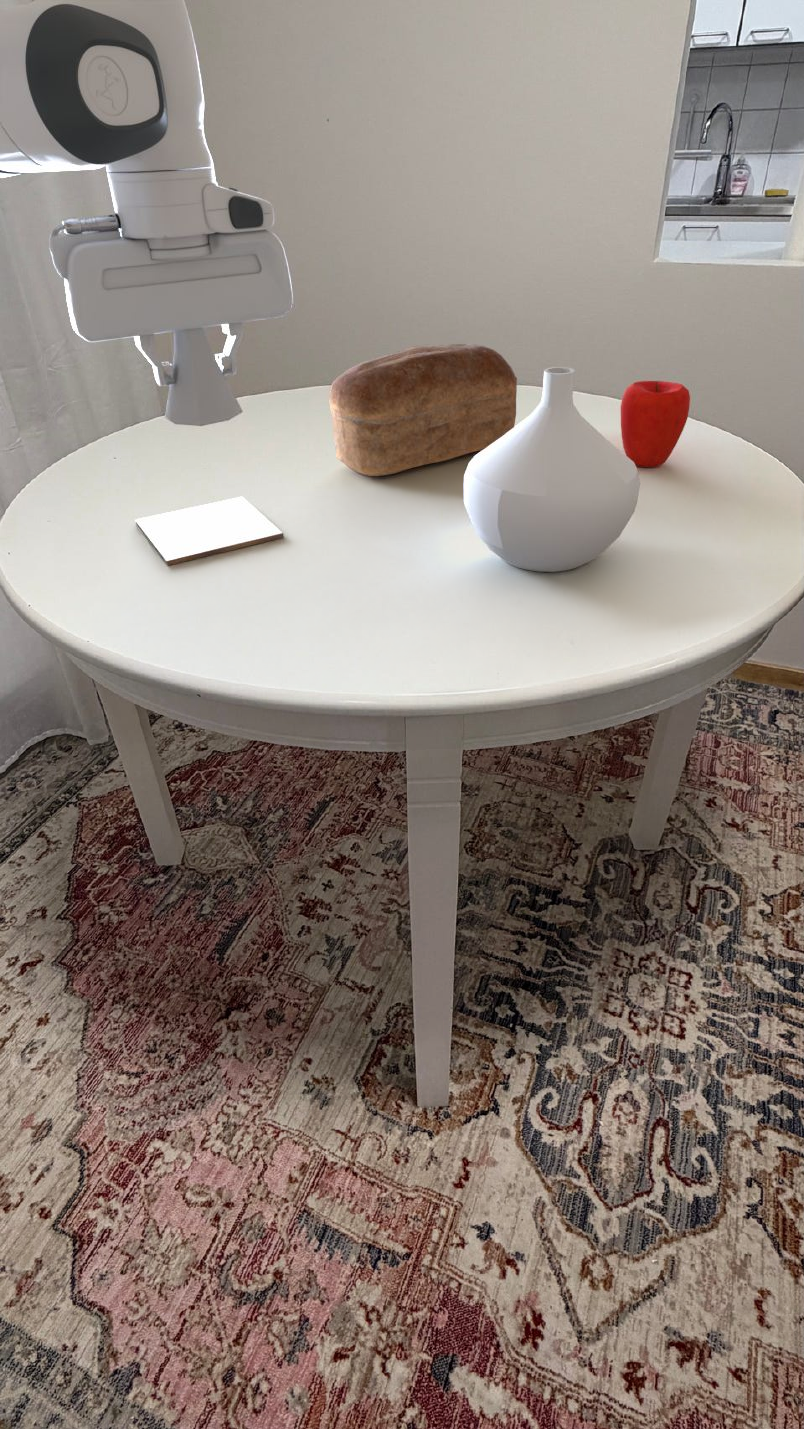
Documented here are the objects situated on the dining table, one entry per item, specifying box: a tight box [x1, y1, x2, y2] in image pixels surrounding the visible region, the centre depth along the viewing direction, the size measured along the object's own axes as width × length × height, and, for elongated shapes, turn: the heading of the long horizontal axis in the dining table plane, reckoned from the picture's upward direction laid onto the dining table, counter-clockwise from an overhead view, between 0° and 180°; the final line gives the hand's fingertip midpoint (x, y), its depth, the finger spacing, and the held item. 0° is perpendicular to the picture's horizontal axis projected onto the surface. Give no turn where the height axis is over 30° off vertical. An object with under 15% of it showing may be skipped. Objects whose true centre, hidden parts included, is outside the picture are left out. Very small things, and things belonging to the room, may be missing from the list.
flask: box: [164, 327, 244, 427], centre depth 76 cm, size 7×7×10 cm
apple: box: [620, 380, 691, 468], centre depth 108 cm, size 9×9×11 cm
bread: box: [328, 343, 518, 477], centre depth 112 cm, size 12×28×14 cm, turn 124°
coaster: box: [135, 496, 285, 566], centre depth 96 cm, size 14×14×1 cm
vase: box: [463, 366, 641, 573], centre depth 83 cm, size 18×18×19 cm
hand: (198, 379), depth 77 cm, fingers closed on flask, 5 cm apart
